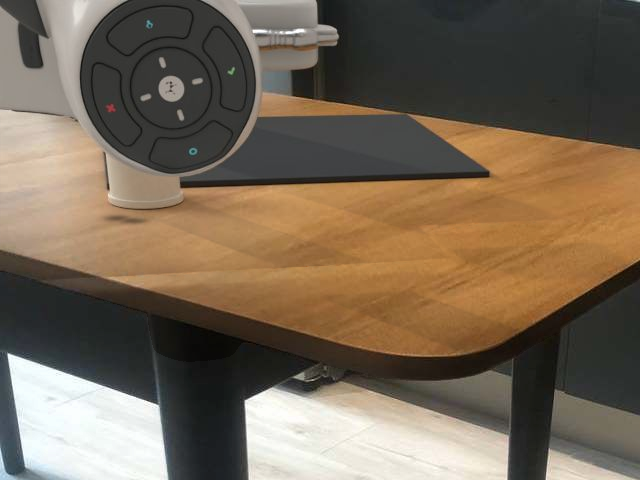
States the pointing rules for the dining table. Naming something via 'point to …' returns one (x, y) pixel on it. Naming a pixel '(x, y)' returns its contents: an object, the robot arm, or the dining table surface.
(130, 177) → the cap
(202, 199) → the dining table surface
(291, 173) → the mat
